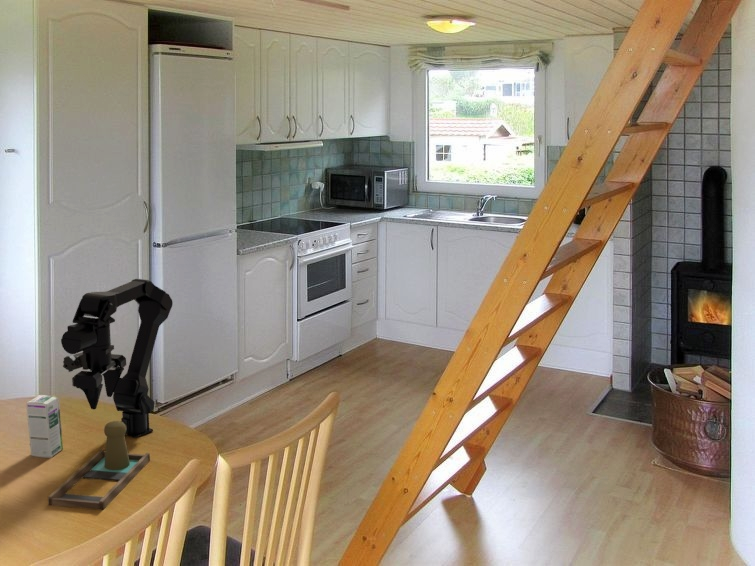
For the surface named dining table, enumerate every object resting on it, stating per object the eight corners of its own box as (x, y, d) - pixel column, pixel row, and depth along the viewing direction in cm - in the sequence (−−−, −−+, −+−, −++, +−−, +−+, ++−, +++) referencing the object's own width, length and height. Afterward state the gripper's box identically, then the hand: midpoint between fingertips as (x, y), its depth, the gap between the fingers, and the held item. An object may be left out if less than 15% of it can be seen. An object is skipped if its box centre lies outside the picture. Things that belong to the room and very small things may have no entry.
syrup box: (51, 458, 225) (47, 403, 222) (29, 456, 226) (25, 401, 223) (63, 449, 231) (59, 395, 227) (42, 447, 232) (38, 393, 228)
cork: (118, 457, 225) (116, 416, 223) (135, 463, 222) (133, 421, 219) (99, 466, 220) (96, 423, 218) (115, 472, 217) (113, 429, 214)
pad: (104, 458, 225) (103, 457, 225) (143, 462, 224) (143, 460, 224) (90, 471, 218) (90, 469, 218) (131, 474, 217) (131, 473, 217)
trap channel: (101, 456, 226) (100, 449, 226) (149, 460, 225) (149, 453, 224) (48, 505, 201) (48, 496, 200) (102, 509, 199) (102, 501, 199)
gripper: (84, 331, 234) (87, 388, 237) (49, 352, 216) (53, 413, 219) (125, 333, 232) (128, 391, 236) (94, 354, 214) (97, 416, 218)
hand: (101, 402), depth 227 cm, fingers open, 9 cm apart
